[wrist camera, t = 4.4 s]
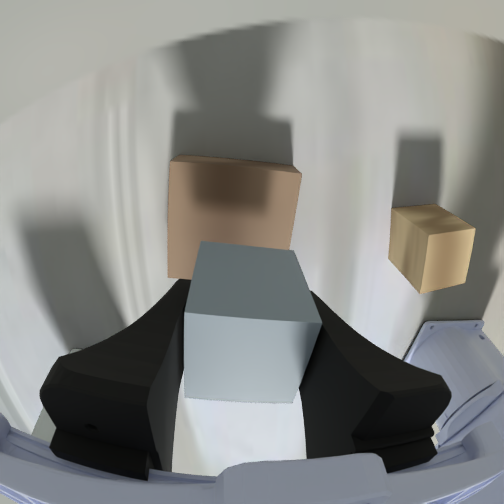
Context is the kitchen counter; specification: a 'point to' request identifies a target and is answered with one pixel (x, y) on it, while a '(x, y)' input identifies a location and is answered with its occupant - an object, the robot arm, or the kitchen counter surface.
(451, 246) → the oak block
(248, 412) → the kitchen counter surface
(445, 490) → the robot arm
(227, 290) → the slate block
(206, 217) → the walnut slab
